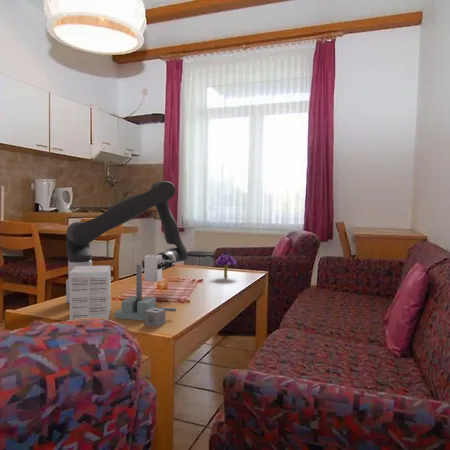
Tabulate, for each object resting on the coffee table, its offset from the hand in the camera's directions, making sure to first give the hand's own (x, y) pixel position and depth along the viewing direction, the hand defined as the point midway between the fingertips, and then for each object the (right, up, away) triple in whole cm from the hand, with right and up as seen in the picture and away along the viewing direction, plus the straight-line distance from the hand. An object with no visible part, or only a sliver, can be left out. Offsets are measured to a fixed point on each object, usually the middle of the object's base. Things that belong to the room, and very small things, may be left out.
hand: (151, 266), depth 149 cm
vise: (+1, -17, -11) cm, 20 cm away
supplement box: (-20, -17, -11) cm, 29 cm away
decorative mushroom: (+30, -14, +62) cm, 70 cm away
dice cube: (+5, -18, -20) cm, 27 cm away
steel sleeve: (0, -6, +3) cm, 7 cm away
